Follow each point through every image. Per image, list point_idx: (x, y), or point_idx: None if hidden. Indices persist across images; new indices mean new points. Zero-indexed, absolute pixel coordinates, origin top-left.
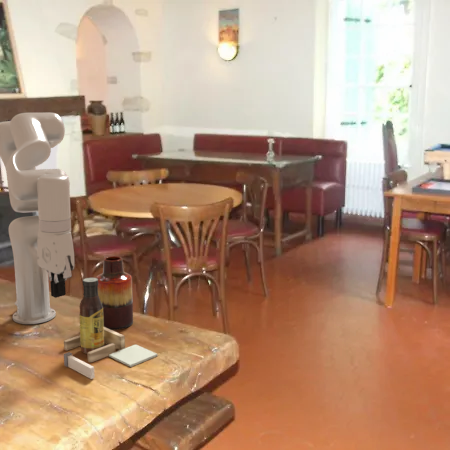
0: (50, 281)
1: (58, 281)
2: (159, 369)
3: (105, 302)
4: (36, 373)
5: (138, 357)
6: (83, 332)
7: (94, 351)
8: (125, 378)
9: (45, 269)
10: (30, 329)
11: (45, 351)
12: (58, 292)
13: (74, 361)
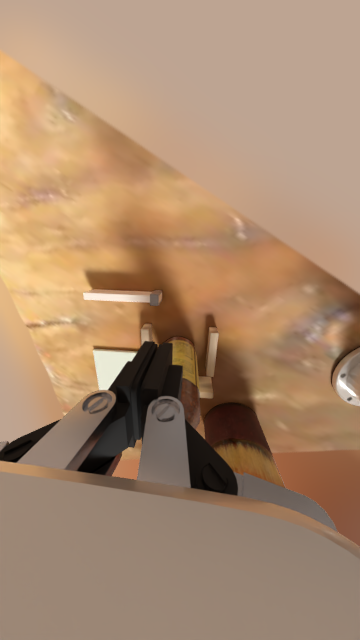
0: (155, 389)
1: (85, 408)
2: (66, 365)
3: (231, 447)
4: (175, 242)
5: (106, 370)
6: (173, 354)
7: (143, 338)
8: (70, 323)
9: (124, 484)
10: (334, 339)
11: (235, 303)
12: (128, 363)
13: (130, 294)
